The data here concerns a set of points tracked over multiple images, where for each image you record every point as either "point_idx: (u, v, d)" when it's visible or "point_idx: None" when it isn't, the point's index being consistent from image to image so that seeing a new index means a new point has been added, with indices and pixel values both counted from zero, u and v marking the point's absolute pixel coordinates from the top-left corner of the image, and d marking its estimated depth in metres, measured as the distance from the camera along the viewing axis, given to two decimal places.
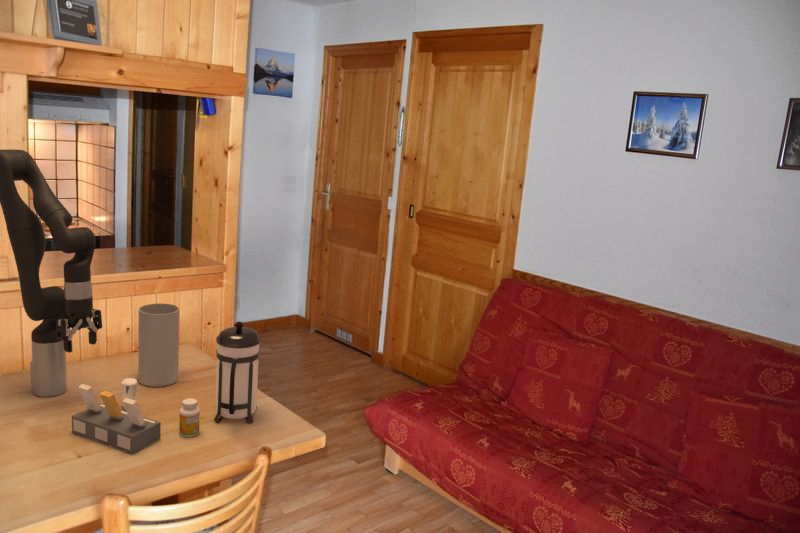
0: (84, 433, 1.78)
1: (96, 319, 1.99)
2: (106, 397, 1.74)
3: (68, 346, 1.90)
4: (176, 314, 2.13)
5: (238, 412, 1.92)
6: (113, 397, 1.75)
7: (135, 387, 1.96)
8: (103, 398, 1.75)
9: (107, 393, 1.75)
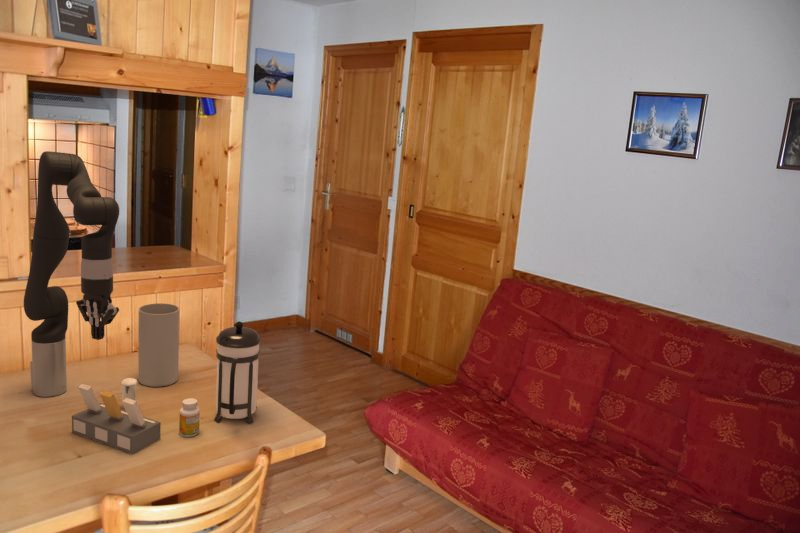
0: (84, 433, 1.78)
1: None
2: (106, 397, 1.74)
3: None
4: (176, 314, 2.13)
5: (238, 412, 1.92)
6: (113, 397, 1.75)
7: (135, 387, 1.96)
8: (103, 398, 1.75)
9: (107, 393, 1.75)
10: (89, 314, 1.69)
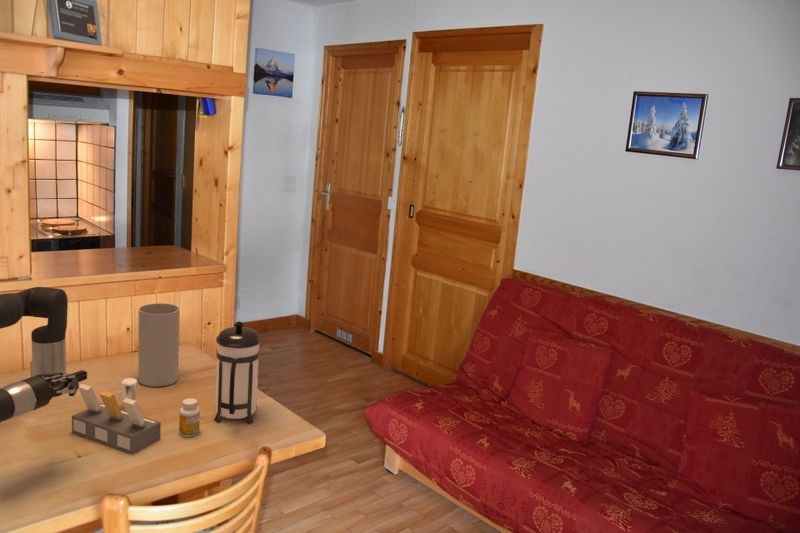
0: (84, 433, 1.78)
1: None
2: (106, 397, 1.74)
3: (81, 374, 1.65)
4: (176, 314, 2.13)
5: (238, 412, 1.92)
6: (113, 397, 1.75)
7: (135, 387, 1.96)
8: (103, 398, 1.75)
9: (107, 393, 1.75)
10: None
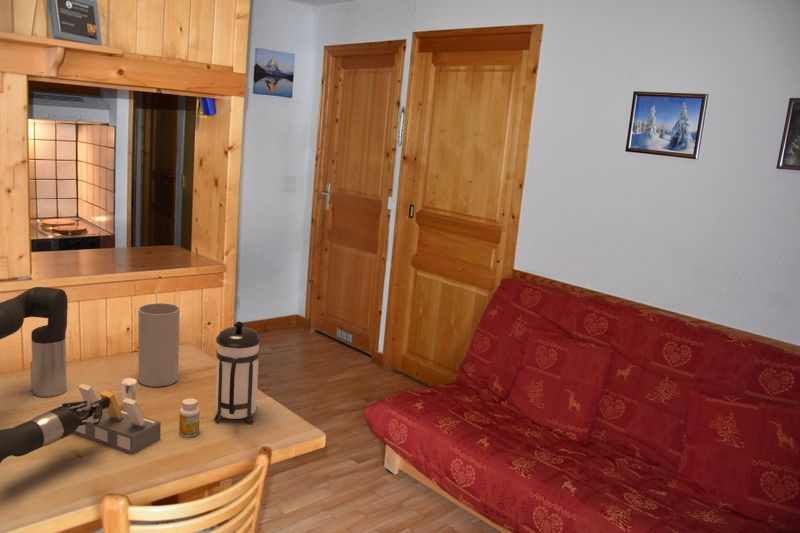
0: (84, 433, 1.78)
1: None
2: (106, 397, 1.74)
3: (104, 402, 1.73)
4: (176, 314, 2.13)
5: (238, 412, 1.92)
6: (113, 397, 1.75)
7: (135, 387, 1.96)
8: None
9: (107, 393, 1.75)
10: None
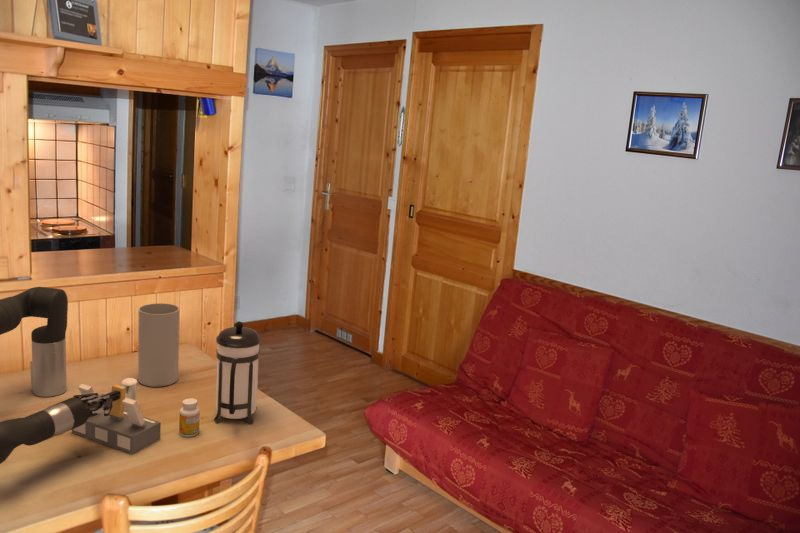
0: (84, 433, 1.78)
1: None
2: (118, 389, 1.78)
3: (114, 394, 1.76)
4: (176, 314, 2.13)
5: (238, 412, 1.92)
6: (124, 391, 1.78)
7: (135, 387, 1.96)
8: None
9: (119, 386, 1.79)
10: None
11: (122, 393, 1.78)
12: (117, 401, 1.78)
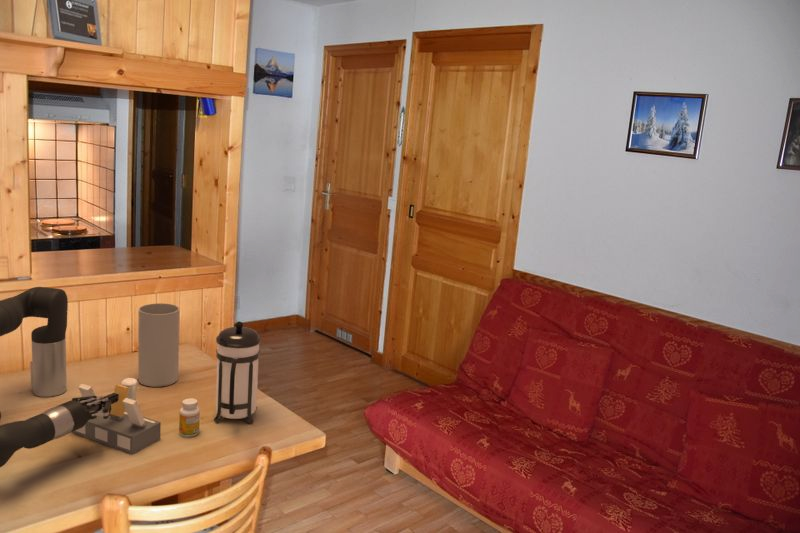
0: (84, 433, 1.78)
1: None
2: (121, 388, 1.79)
3: (113, 397, 1.76)
4: (176, 314, 2.13)
5: (238, 412, 1.92)
6: (127, 391, 1.79)
7: (135, 387, 1.96)
8: (116, 390, 1.79)
9: (123, 386, 1.80)
10: None
11: (125, 392, 1.79)
12: (119, 400, 1.79)
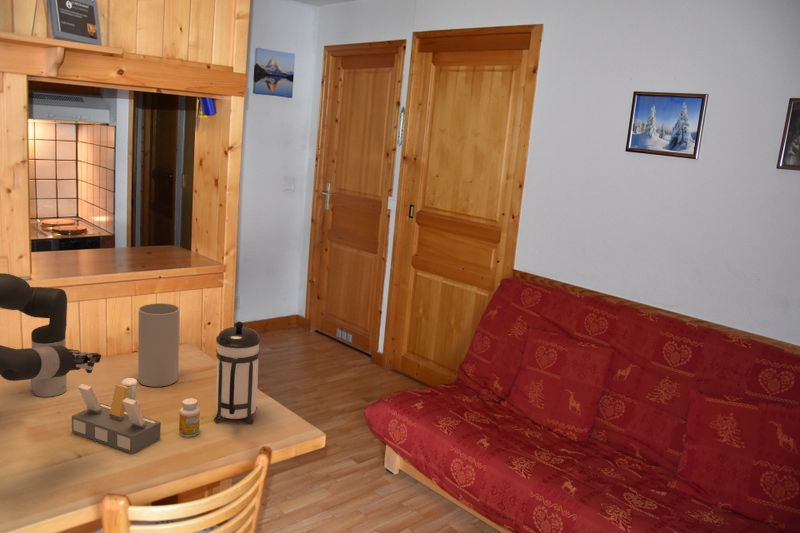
0: (84, 433, 1.78)
1: None
2: (121, 388, 1.79)
3: (96, 356, 1.68)
4: (176, 314, 2.13)
5: (238, 412, 1.92)
6: (127, 391, 1.79)
7: (135, 387, 1.96)
8: (116, 390, 1.79)
9: (123, 386, 1.80)
10: None
11: (125, 392, 1.79)
12: (119, 400, 1.79)
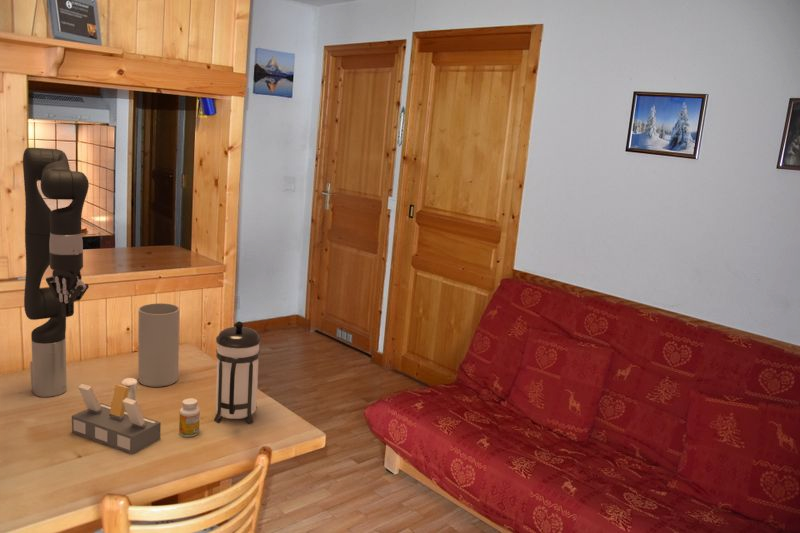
0: (84, 433, 1.78)
1: None
2: (121, 388, 1.79)
3: None
4: (176, 314, 2.13)
5: (238, 412, 1.92)
6: (127, 391, 1.79)
7: (135, 387, 1.96)
8: (116, 390, 1.79)
9: (123, 386, 1.80)
10: (59, 291, 1.66)
11: (125, 392, 1.79)
12: (119, 400, 1.79)
